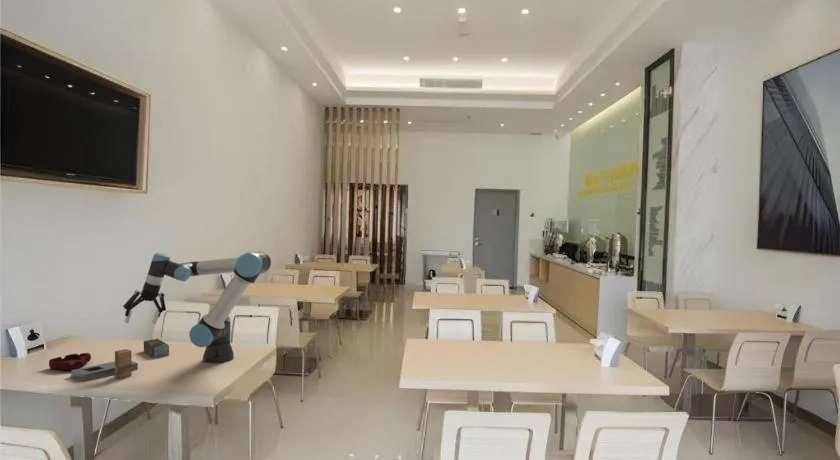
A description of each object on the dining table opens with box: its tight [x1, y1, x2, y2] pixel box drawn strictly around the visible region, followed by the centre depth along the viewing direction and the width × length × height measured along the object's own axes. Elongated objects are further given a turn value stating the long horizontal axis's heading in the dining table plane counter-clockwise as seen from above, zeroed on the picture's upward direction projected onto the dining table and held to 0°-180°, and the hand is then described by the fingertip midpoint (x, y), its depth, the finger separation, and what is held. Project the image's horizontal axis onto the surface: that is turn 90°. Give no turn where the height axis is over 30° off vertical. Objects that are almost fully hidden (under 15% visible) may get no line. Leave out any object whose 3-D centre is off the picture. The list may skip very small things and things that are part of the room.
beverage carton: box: [143, 338, 170, 359], centre depth 275 cm, size 8×19×7 cm, turn 44°
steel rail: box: [70, 360, 139, 382], centre depth 238 cm, size 12×24×3 cm, turn 146°
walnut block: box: [114, 348, 133, 380], centre depth 232 cm, size 5×5×12 cm
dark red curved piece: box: [48, 352, 92, 371], centre depth 247 cm, size 18×16×5 cm
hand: (140, 322), depth 253 cm, fingers open, 13 cm apart
